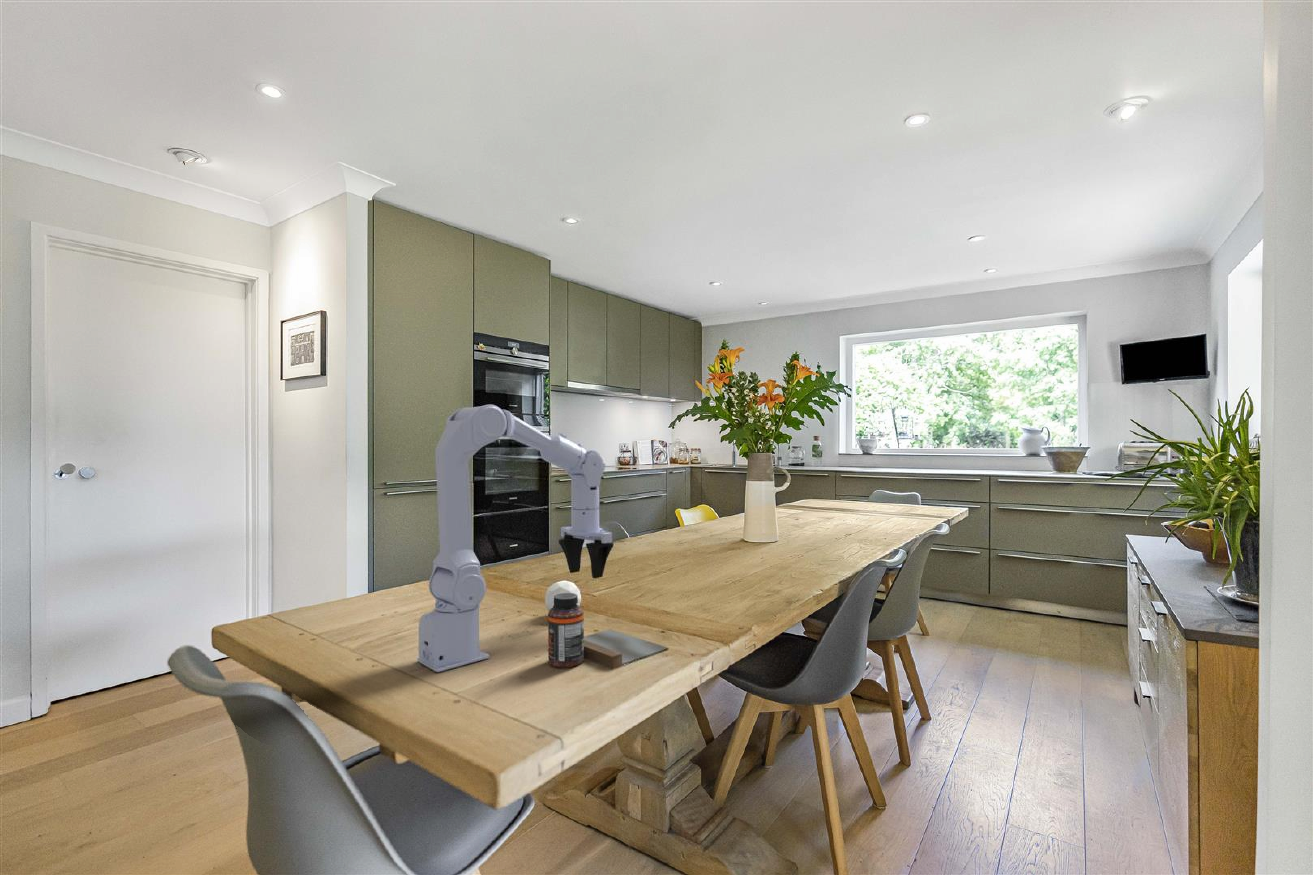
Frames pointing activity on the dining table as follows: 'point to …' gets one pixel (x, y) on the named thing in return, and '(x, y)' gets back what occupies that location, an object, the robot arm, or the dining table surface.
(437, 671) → the robot arm
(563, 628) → the supplement bottle
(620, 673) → the dining table surface
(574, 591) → the geometric ball
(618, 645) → the stop bar and mat
